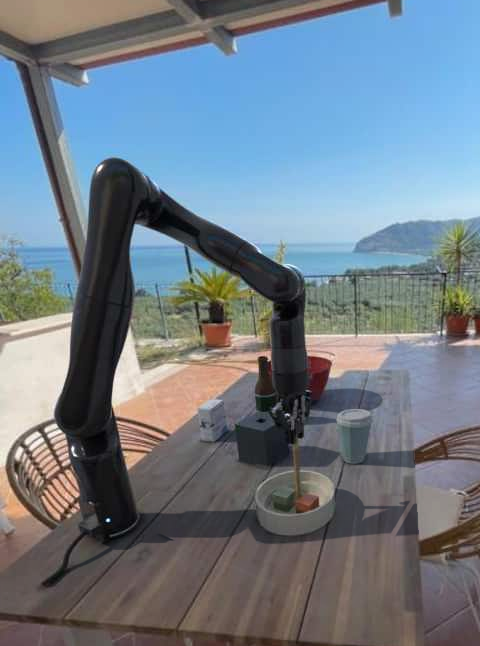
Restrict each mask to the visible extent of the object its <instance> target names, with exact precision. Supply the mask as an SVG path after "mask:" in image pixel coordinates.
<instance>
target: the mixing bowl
mask: <svg viewBox="0 0 480 646" xmlns="http://www.w3.org/2000/svg"><path fill="white" fill-rule="evenodd" d="M307 356H308V374H309V386H308V388H307V389H306V390H307V391H313V398H312V403H314V402H315V401H317V400H318V399H319V398H320V397H321V396H322V394H324V391H325V390H326V389H325V388H326V386H327V384H328V381H329V379H330V378H329V377H330V373H331V369H332V366H333V361H332V360H330V359H328V358H326V357H322V356H315V355H307ZM268 368H269V374H270V378H271V379H272V368H271V359H270V360H268ZM272 381H273V379H272ZM277 397H278V393H277Z"/></svg>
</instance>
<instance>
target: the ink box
mask: <svg viewBox="0 0 480 646" xmlns="http://www.w3.org/2000/svg"><path fill="white" fill-rule="evenodd" d="M224 401H225V400H224V399H215V398H210V399H209V400H208V401H205V403H203V404H201V405H200V406H198V407H197V415H198V422H199V431H200V437H201V441H204V442H213V443H215V442H216V441H217V440H219V439H220V438H221V437H222V436H223V435H225V434H226V433H227V432H228V424H227V417H226V409H225V407H226V406H225V402H224Z"/></svg>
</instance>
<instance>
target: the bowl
mask: <svg viewBox="0 0 480 646" xmlns="http://www.w3.org/2000/svg"><path fill="white" fill-rule="evenodd" d="M300 479H301V494H303V493H304V492H305V493H309V494H312V495H315V496H319V507H318V508H316V509H314V510H311V511H308V512H304V513H299V514H296V507H295V506H294V507H293V508H292V509H291V510H290V511H289V512H288V513H287V512H284V511H281V510H278V509H275V508H274V505H273V493H274V492H276V491H277V490H278V489H279V488H280V487H281V486H286V487H289V488H292V489H296V482H295V470H288V471H285V472H279V473H277V474H275V475H273V476H270V477H268V478H267V479H266V480H264V481H263V482H262V483H260V484H259V486H258V488H257V489H256V491H255V493H254V503H255V512H256V518H257V521H258V523H259V525H260V526H261V527H262V528H263V529H265V530H266V531H267V532H270V533H273V534H275V535H279V536H287V537H288V536H289V537H291V536H293V537H294V536H300V535H301V536H302V535H307V534H309V533H312V532H316V531H318V530H319V529H321V528H322V527H324V526H326V525H327V524H328V523H329V522H330V520H331V519H332V518H333V517H334V514H335V512H336V492H335V491H336V490H335V485H334V483H333V481H332V480H331V479H330V478H329V477H327V476H326V475H324V474H322V473H320V472H317V471H313V470H303V469H300Z"/></svg>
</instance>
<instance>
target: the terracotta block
mask: <svg viewBox="0 0 480 646" xmlns="http://www.w3.org/2000/svg"><path fill="white" fill-rule="evenodd" d="M295 507H296V514H299V513H304V512H308V511H311V510H314V509H316V508H318V507H319V496H315V495H312V494H309V493H305V492H304V493H303V494H302V495H301V496H300V497H299V498H298V499H297V500H296V501H295Z"/></svg>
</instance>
